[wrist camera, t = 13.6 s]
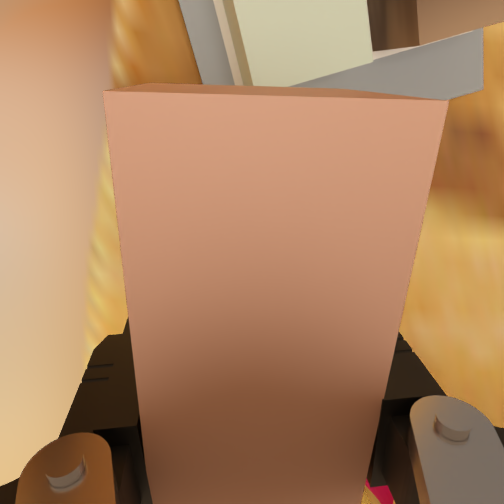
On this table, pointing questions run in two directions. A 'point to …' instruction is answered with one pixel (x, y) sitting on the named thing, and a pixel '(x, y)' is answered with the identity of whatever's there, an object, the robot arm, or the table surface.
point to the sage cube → (297, 39)
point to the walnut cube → (427, 20)
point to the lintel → (265, 279)
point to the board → (358, 78)
